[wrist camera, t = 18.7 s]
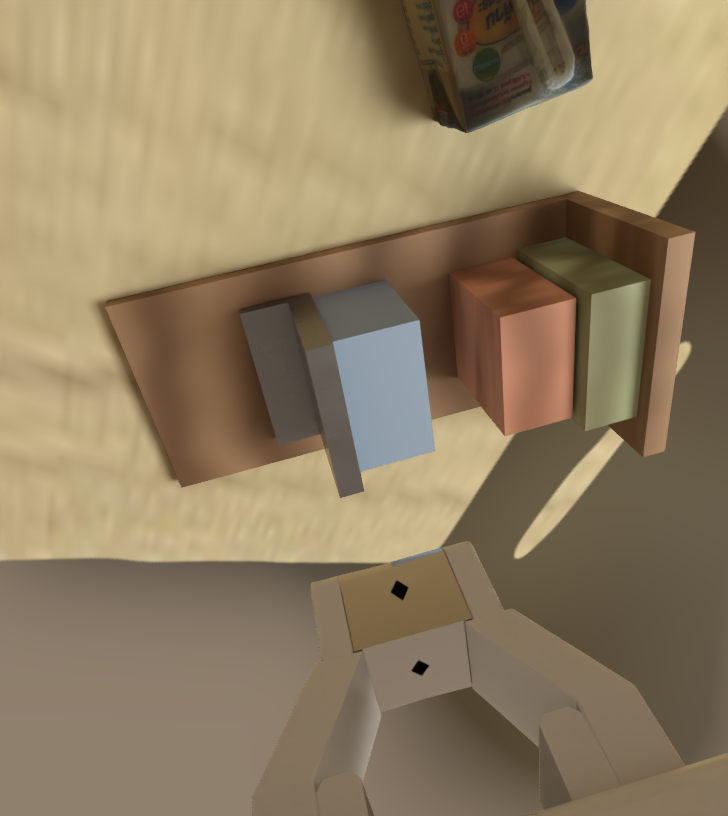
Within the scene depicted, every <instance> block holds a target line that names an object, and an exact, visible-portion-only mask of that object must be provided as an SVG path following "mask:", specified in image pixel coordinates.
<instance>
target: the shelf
mask: <svg viewBox="0 0 728 816" xmlns="http://www.w3.org/2000/svg"><path fill="white" fill-rule="evenodd" d="M694 237H695V232H693V231H691V230H688V229H685V228H682V227H679V226H677V225H674V224H671V223H668V222H665V221H662V220H660V219H657V218H654V217H651V216H648V215H646V214H643V213H640V212H637V211H634V210H631V209H629V208H626V207H623V206H620V205H617V204H614V203H612V202H609V201H606V200H603V199H600V198H597V197H595V196H592V195H589V194H586V193H583V192H580V191H578V192H574V193H570V194H566V195H561V196H557V197H553V198H548V199H544V200H540V201H536V202H531V203H527V204H523V205H518V206H514V207H510V208H506V209H501V210H497V211H493V212H488V213H484V214H480V215H475V216H471V217H467V218H463V219H458V220H454V221H450V222H445V223H441V224H437V225H433V226H428V227H424V228H420V229H415V230H411V231H407V232H403V233H398V234H394V235H390V236H385V237H381V238H377V239H373V240H368V241H364V242H360V243H355V244H351V245H347V246H343V247H338V248H334V249H330V250H325V251H321V252H317V253H313V254H308V255H304V256H300V257H295V258H291V259H287V260H283V261H278V262H274V263H270V264H265V265H261V266H257V267H252V268H248V269H244V270H240V271H235V272H231V273H227V274H222V275H218V276H214V277H210V278H205V279H201V280H197V281H192V282H188V283H184V284H180V285H175V286H171V287H167V288H162V289H158V290H154V291H150V292H145V293H141V294H137V295H132V296H128V297H124V298H120V299H115V300H111V301H107V304H106V306H105V308H106V310H107V313H108V315H109V318H110V320H111V322H112V325H113V327H114V329H115V332H116V334H117V336H118V339H119V341H120V343H121V346H122V348H123V351H124V353H125V355H126V358H127V360H128V362H129V365H130V367H131V369H132V372H133V374H134V377H135V379H136V381H137V384H138V386H139V388H140V391H141V393H142V395H143V398H144V400H145V402H146V405H147V407H148V410H149V412H150V414H151V417H152V419H153V421H154V424H155V426H156V428H157V431H158V433H159V435H160V438H161V440H162V443H163V445H164V447H165V450H166V452H167V454H168V457H169V459H170V461H171V464H172V466H173V468H174V471H175V473H176V476H177V478H178V480H179V483H180V485H181V487H186V486H189V485H193V484H197V483H200V482H204V481H208V480H211V479H215V478H219V477H222V476H226V475H230V474H233V473H237V472H241V471H244V470H248V469H252V468H256V467H259V466H263V465H267V464H270V463H274V462H278V461H281V460H285V459H289V458H292V457H296V456H300V455H303V454H307V453H311V452H314V451H318V450H322V449H325V448H324V445H323V442H322V439H321V435H316V436H312V437H308V438H305V439H301V440H297V441H293V442H290V443H286V444H282V445H279V446H278V442H277V439H276V435H275V432H274V429H273V425H272V422H271V418H270V415H269V412H268V408H267V405H266V402H265V398H264V395H263V391H262V388H261V385H260V381H259V378H258V374H257V371H256V368H255V364H254V361H253V357H252V354H251V351H250V347H249V344H248V341H247V337H246V334H245V330H244V327H243V324H242V320H241V317H240V313H239V309H244V308H248V307H252V306H256V305H260V304H264V303H268V302H273V301H277V300H281V299H285V298H289V297H293V296H298V295H302V294H306V293H310V294H311V297H312V298H313V297H317V296H321V295H325V294H329V293H333V292H337V291H342V290H346V289H350V288H354V287H358V286H362V285H366V284H371V283H375V282H379V281H383V280H387V282H388V283H389V284H390V285H391V286H392V288H393V289H394V290H395V291H396V292H397V294H398V295H399V296H400V297H401V298H402V300H403V301H404V302H405V303H406V304H407V306H408V307H409V308H410V309H411V310H412V312H413V313H414V314H415V315H416V316H417V318H418V319H419V321H420V329H421V337H422V346H423V354H424V362H425V371H426V379H427V387H428V396H429V404H430V412H431V420H432V419H436V418H440V417H443V416H447V415H451V414H454V413H458V412H462V411H465V410H469V409H473V408H476V407H480V406H481V407H482V408H483V409H484V411H485V412H486V413H487V414H488V416H489V417H490V418H491V419H492V421H493V422H494V423H495V424H496V426H497V427H498V428H499V429H500V431H501V432H502V433H503V434H504V436H508V435H511V434H515V433H518V432H521V431H525V430H529V429H533V428H536V427H540V426H543V425H547V424H551V423H554V422H557V421H561V420H564V419H568V418H572V419H573V420H574V421H575V422H576V423H577V424H578V425H579V426H580V427H581V428H582V429H584V431H587V430H591V429H594V428H598V427H601V426H604V425H608V426H609V427H610V428H611V429H613V430H614V431H615V432H616V433H617V434H618V435H619V436H620V437H621V438H622V439H624V440H625V441H626V442H627V443H628V444H629V445H630V446H631V447H633V448H634V449H635V450H636V451H637V452H638V453H639V454H640V455H641V456H643V457H645V456H649V455H652V454H656V453H659V452H663V451H665V445H666V438H667V430H668V424H669V417H670V409H671V402H672V395H673V388H674V381H675V374H676V366H677V359H678V352H679V345H680V338H681V331H682V323H683V316H684V309H685V301H686V295H687V288H688V280H689V273H690V265H691V259H692V252H693V244H694Z"/></svg>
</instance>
